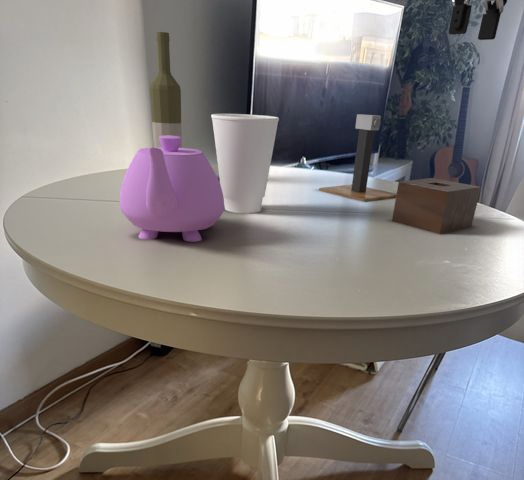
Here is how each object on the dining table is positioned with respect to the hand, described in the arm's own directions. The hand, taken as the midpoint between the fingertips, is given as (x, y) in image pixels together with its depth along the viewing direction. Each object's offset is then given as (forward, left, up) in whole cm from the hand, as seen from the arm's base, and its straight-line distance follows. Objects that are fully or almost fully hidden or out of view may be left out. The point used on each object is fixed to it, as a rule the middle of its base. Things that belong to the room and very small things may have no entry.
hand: (471, 36), depth 87 cm
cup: (+38, -17, -31) cm, 52 cm away
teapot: (+58, -8, -31) cm, 66 cm away
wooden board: (+4, -18, -30) cm, 35 cm away
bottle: (+34, -53, -31) cm, 70 cm away
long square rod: (+4, -18, -30) cm, 35 cm away
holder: (+14, +8, -30) cm, 34 cm away
